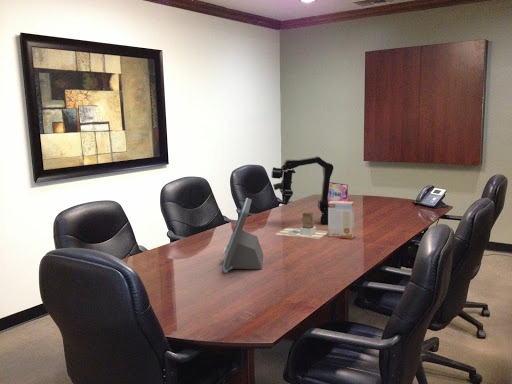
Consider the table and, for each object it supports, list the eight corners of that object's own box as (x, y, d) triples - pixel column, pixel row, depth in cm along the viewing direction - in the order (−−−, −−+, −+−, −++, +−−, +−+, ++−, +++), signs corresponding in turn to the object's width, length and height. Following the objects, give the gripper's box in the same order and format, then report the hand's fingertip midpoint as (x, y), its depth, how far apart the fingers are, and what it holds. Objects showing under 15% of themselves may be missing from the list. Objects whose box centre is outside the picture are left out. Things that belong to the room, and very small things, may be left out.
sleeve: (304, 231, 291) (304, 225, 291) (315, 233, 288) (315, 226, 287) (300, 234, 285) (299, 228, 284) (311, 235, 282) (311, 229, 281)
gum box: (349, 201, 388) (349, 184, 386) (342, 202, 383) (342, 185, 381) (328, 197, 407) (328, 181, 405) (321, 198, 403) (321, 182, 400)
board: (287, 228, 304) (287, 227, 304) (329, 232, 290) (329, 231, 290) (274, 235, 288) (274, 233, 288) (318, 239, 275) (318, 238, 275)
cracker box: (354, 236, 279) (354, 201, 276) (351, 239, 274) (352, 203, 270) (330, 234, 285) (330, 200, 282) (328, 237, 280) (327, 201, 276)
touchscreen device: (226, 251, 256) (226, 196, 251) (263, 252, 255) (264, 196, 250) (219, 273, 221) (218, 209, 216) (261, 274, 221) (262, 210, 216)
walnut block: (305, 232, 289) (305, 211, 287) (312, 233, 287) (312, 212, 285) (303, 234, 285) (302, 212, 283) (310, 235, 283) (309, 213, 281)
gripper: (273, 176, 315) (270, 199, 318) (276, 180, 297) (273, 205, 299) (289, 177, 316) (287, 201, 319) (294, 181, 298) (291, 206, 300)
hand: (284, 203), depth 309 cm, fingers open, 9 cm apart
